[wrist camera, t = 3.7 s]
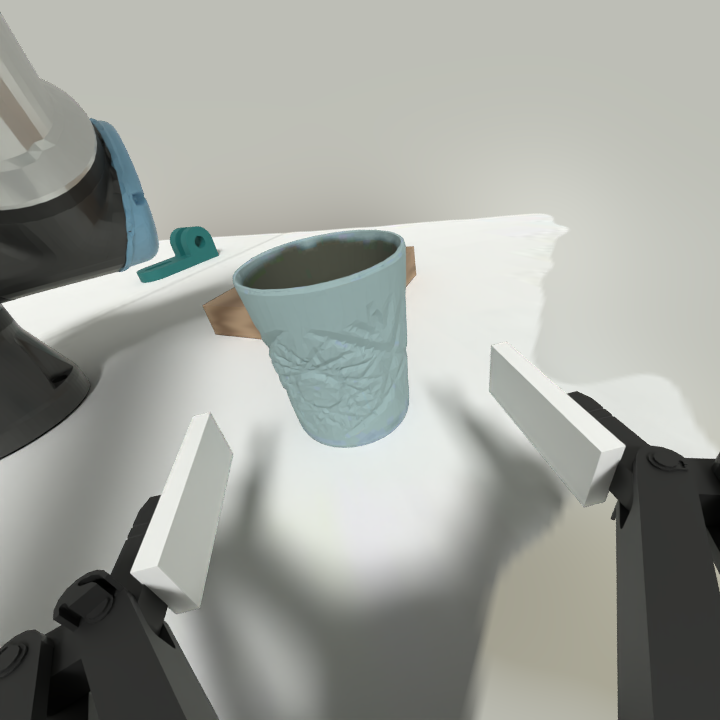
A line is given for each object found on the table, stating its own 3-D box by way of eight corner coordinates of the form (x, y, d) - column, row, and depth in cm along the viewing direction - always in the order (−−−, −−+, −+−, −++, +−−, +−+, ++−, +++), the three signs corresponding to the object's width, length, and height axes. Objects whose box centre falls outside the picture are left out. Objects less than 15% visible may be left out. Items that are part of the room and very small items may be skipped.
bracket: (203, 256, 87) (189, 224, 82) (219, 256, 83) (205, 223, 79) (136, 282, 75) (116, 247, 70) (151, 284, 71) (131, 246, 67)
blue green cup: (374, 356, 31) (351, 223, 25) (451, 411, 24) (445, 238, 17) (274, 404, 28) (216, 264, 21) (325, 488, 20) (258, 306, 14)
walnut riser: (215, 334, 42) (202, 305, 40) (302, 275, 57) (296, 252, 54) (354, 348, 33) (347, 312, 31) (416, 274, 48) (413, 246, 45)
